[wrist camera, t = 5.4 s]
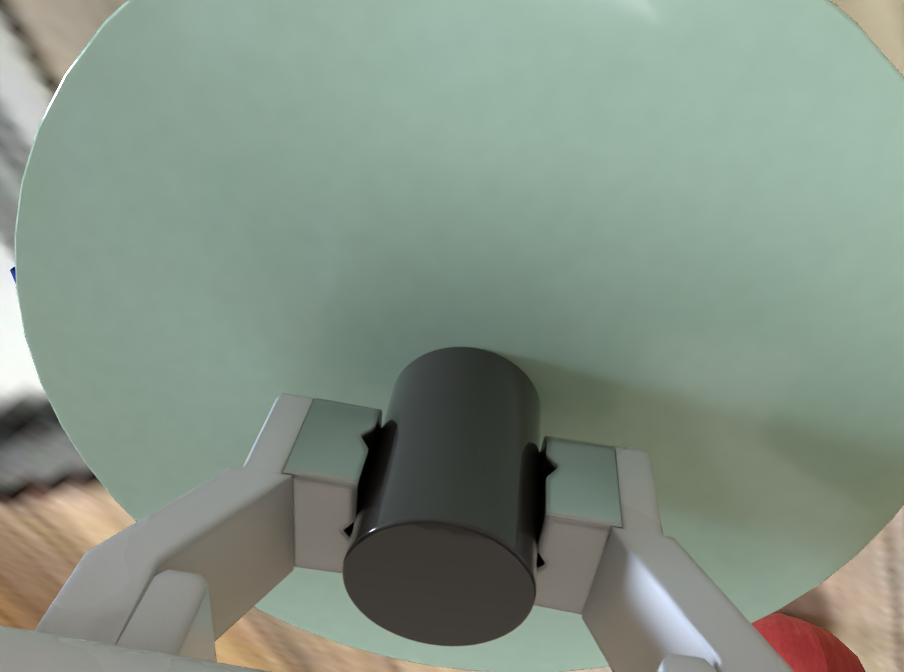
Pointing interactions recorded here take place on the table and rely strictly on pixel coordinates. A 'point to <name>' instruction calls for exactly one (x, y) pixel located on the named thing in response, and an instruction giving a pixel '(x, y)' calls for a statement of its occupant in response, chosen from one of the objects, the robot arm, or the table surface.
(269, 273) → the pot lid
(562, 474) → the robot arm
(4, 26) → the table surface
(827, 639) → the onion
